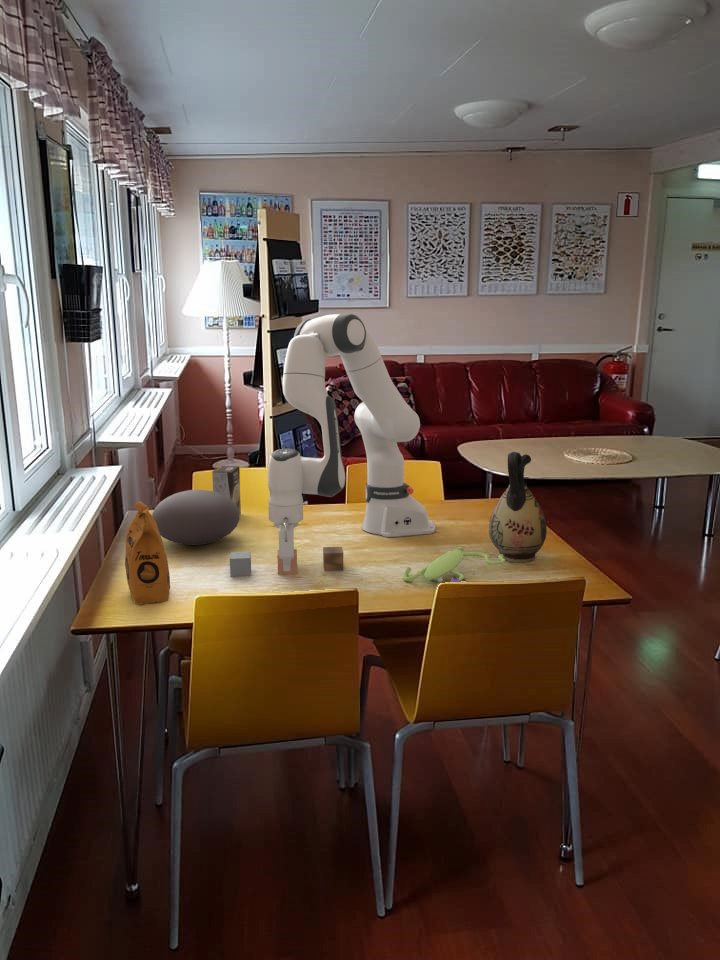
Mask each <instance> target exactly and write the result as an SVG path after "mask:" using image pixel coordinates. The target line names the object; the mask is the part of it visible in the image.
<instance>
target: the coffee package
mask: <svg viewBox="0 0 720 960" xmlns="http://www.w3.org/2000/svg"><path fill="white" fill-rule="evenodd" d="M134 507H135V509H136V511H137V512H136V514H135V516H134V518H133V519H132V521H131V523H130V525H129V526H128V528H127V531H126V537H125V556H124V558H125V561H124V564H125V574H126V581H127V585H128V589H129V591H130V594H131V597H132V599H133V601H134V603H136V605H143V604H147V605H148V604H153V603H156V604H157V603H162V602H163V603H164V602H167V601H168V600H169V597H170V596H169V595H170V588H171V578H170V577H171V576H170V568H169V561H168V556H167V553H166V548H165V544H164V541H163V539H162V538H163V537H162V536H161V535H160V533H159V530H158V527H157V523H156V521H155V519H154V518H153V516H152V513H151V512H149V506H148V505H146V504H145V503H143V502H142V501H137V502H136V503H135V504H134Z"/></svg>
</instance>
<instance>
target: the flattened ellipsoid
mask: <svg viewBox="0 0 720 960" xmlns="http://www.w3.org/2000/svg"><path fill="white" fill-rule="evenodd" d="M151 515H152V516H153V518H154V519H155V521H156V523H157V527H158V530H159V533H160V535H161V538H164V539H165V540H167V541H169V542H172V543H176V544H179V545H186V546H198V545H207V544H211V543H215V542H216V541H220V540H223V539H224V538H226V537H227V536H228V535H230V534H231V533H233V531H235V529H237V526H238V524H239V523H240V520H241V519H240V518H241V514H240V512H239V509H238V507H237V505H236V504H235V503H234V502H233V501H232V500H231V499H230V498H228V497H227V496H225V495H223V494H220V493H217V492H214V491H213V490H208V489H188V490H184V491H180V492H177V493H174V494H172V495H169V496H167V497H166V498H164V499H163V500H161V501H160V502H159V503H158V504H156V506H155V508H154V509H153V511H152V513H151Z"/></svg>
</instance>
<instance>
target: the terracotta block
mask: <svg viewBox="0 0 720 960" xmlns="http://www.w3.org/2000/svg"><path fill="white" fill-rule="evenodd" d="M276 559H277V574H278V575H292V574H294V575H295V574H298V549H297V548H294V558H293V559H291V564H290V571H284V570H283V559H280V557H279V549H277V558H276Z"/></svg>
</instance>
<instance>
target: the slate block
mask: <svg viewBox="0 0 720 960" xmlns="http://www.w3.org/2000/svg"><path fill="white" fill-rule="evenodd" d="M251 554H252V553H251V551H232V552H231V551H230V556H229V572H230V573H229V574H230V575H229V576H230V578H240V577H241V578H242V577H249V578H250V577H251V574H252V572H251V571H252V560H251V559H252V558H251V556H252V555H251Z"/></svg>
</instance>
